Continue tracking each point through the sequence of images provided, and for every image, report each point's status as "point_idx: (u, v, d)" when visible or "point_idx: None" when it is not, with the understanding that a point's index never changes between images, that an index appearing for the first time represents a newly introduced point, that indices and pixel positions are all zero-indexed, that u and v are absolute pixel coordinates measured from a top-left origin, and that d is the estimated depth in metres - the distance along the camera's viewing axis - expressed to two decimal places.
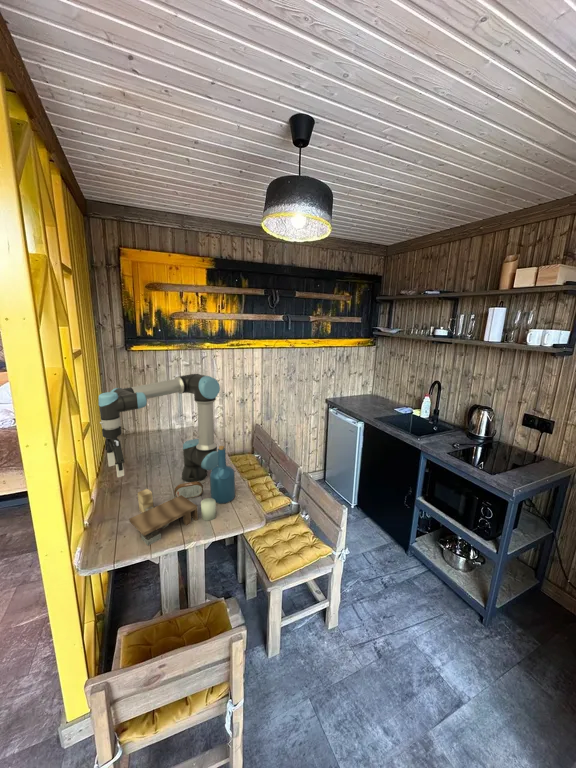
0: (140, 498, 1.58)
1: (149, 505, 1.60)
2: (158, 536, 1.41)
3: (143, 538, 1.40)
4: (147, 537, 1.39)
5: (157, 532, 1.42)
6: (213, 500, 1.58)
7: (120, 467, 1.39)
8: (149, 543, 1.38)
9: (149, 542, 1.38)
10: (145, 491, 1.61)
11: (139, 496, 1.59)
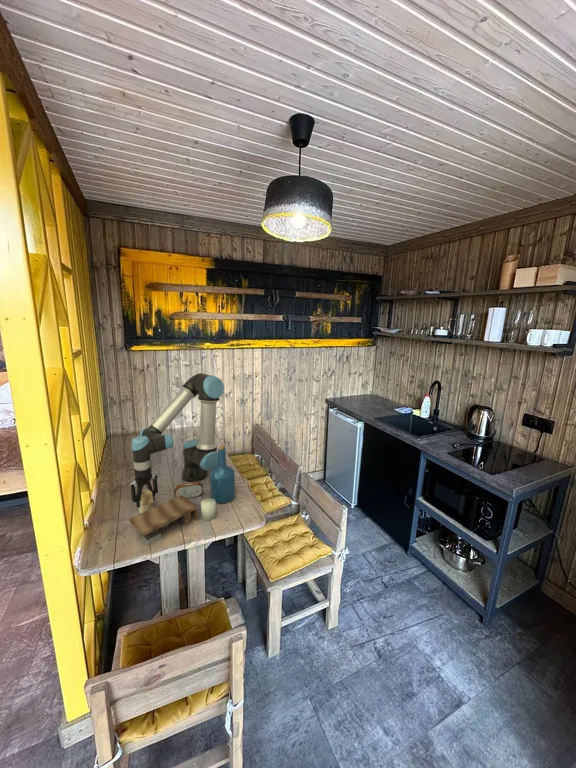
0: (140, 498, 1.58)
1: (149, 505, 1.60)
2: (158, 536, 1.40)
3: (143, 538, 1.40)
4: (147, 537, 1.39)
5: (157, 532, 1.42)
6: (213, 500, 1.58)
7: (136, 504, 1.58)
8: (149, 543, 1.38)
9: (149, 542, 1.38)
10: (145, 491, 1.61)
11: None
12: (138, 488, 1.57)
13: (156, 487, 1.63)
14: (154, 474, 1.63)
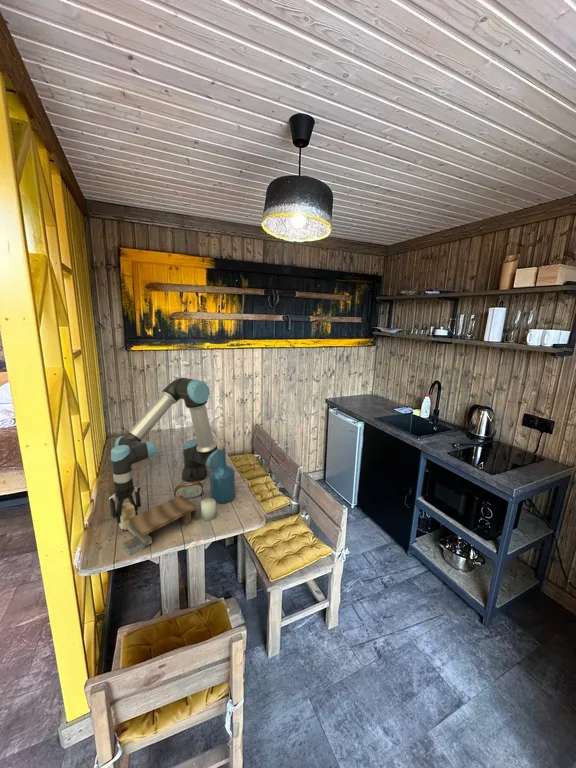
0: (121, 513, 1.45)
1: None
2: (141, 545, 1.35)
3: (125, 547, 1.34)
4: (129, 546, 1.33)
5: (140, 541, 1.36)
6: (213, 500, 1.58)
7: None
8: (131, 553, 1.32)
9: (131, 552, 1.32)
10: (126, 505, 1.47)
11: None
12: (118, 502, 1.44)
13: (139, 500, 1.50)
14: (137, 486, 1.49)
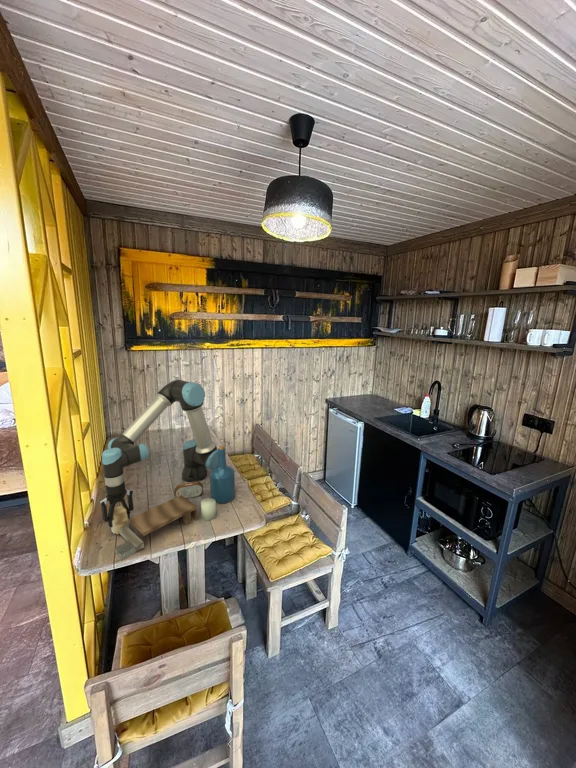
0: (113, 517, 1.42)
1: (123, 524, 1.44)
2: (133, 550, 1.32)
3: (116, 552, 1.31)
4: (120, 551, 1.30)
5: (132, 545, 1.33)
6: (213, 500, 1.58)
7: (108, 524, 1.42)
8: (122, 558, 1.29)
9: (122, 557, 1.29)
10: (118, 509, 1.45)
11: None
12: (110, 506, 1.41)
13: (131, 504, 1.47)
14: (129, 489, 1.47)
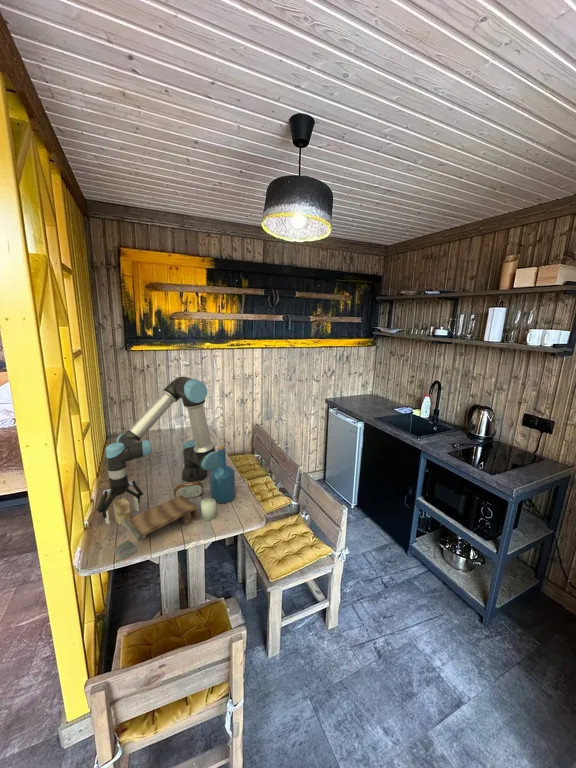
0: (116, 508, 1.50)
1: (126, 516, 1.52)
2: (133, 549, 1.32)
3: (116, 552, 1.31)
4: (121, 551, 1.30)
5: (132, 545, 1.34)
6: (213, 500, 1.58)
7: (102, 515, 1.46)
8: (123, 557, 1.29)
9: (123, 556, 1.29)
10: (121, 501, 1.52)
11: (115, 506, 1.50)
12: (110, 497, 1.47)
13: (139, 490, 1.56)
14: (131, 480, 1.54)
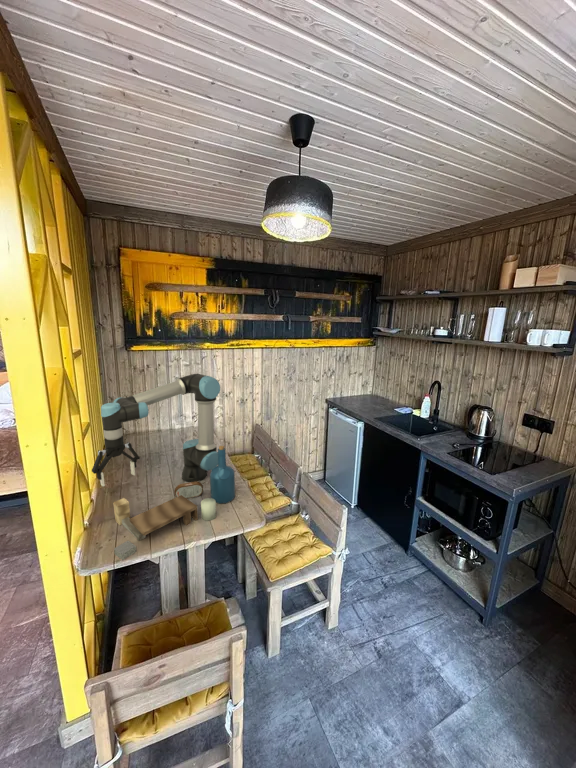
0: (116, 508, 1.50)
1: (126, 516, 1.52)
2: (133, 549, 1.33)
3: (116, 553, 1.31)
4: (121, 551, 1.30)
5: (132, 545, 1.34)
6: (213, 500, 1.58)
7: (97, 476, 1.42)
8: (124, 557, 1.29)
9: (124, 556, 1.29)
10: (121, 501, 1.52)
11: (115, 506, 1.50)
12: (105, 458, 1.43)
13: (135, 454, 1.52)
14: (127, 443, 1.50)
